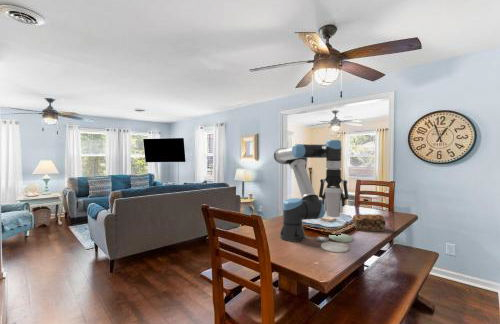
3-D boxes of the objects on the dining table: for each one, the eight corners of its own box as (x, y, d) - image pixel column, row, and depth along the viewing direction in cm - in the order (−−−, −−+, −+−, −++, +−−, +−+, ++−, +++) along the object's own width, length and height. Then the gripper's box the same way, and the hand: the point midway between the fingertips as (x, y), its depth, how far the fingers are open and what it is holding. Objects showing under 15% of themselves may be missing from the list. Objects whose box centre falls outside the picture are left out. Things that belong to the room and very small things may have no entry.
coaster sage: (326, 239, 148) (326, 238, 148) (331, 233, 160) (331, 232, 160) (351, 243, 141) (351, 242, 141) (354, 236, 153) (354, 235, 153)
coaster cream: (318, 249, 132) (318, 247, 132) (324, 241, 144) (324, 240, 144) (346, 254, 125) (346, 253, 125) (350, 246, 137) (350, 244, 137)
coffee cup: (346, 216, 132) (346, 188, 131) (334, 218, 127) (335, 189, 126) (331, 212, 140) (332, 186, 139) (320, 214, 135) (320, 187, 134)
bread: (380, 227, 173) (381, 213, 173) (386, 232, 163) (386, 217, 162) (352, 226, 177) (352, 212, 177) (355, 230, 166) (355, 215, 166)
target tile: (315, 240, 147) (315, 239, 147) (318, 237, 153) (318, 235, 153) (327, 242, 143) (327, 241, 143) (329, 238, 149) (329, 237, 149)
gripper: (312, 168, 135) (312, 210, 136) (352, 169, 124) (352, 215, 124) (316, 168, 141) (316, 208, 142) (355, 169, 130) (355, 212, 131)
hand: (333, 211), depth 133 cm, fingers closed on coffee cup, 8 cm apart
